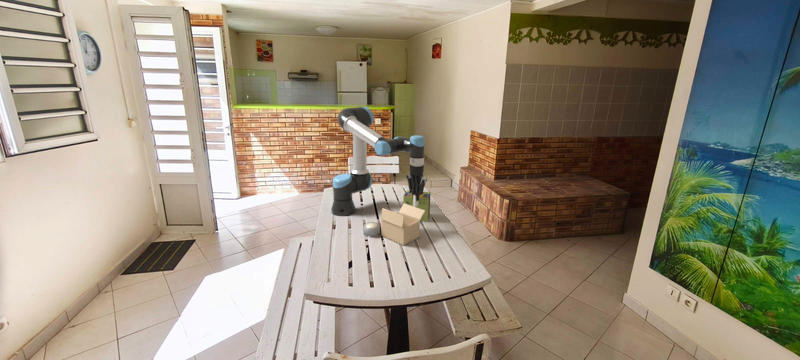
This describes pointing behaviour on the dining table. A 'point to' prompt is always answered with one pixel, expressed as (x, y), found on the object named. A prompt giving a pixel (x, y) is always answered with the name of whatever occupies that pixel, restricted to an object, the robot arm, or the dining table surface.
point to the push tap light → (371, 229)
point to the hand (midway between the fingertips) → (415, 205)
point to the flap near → (392, 217)
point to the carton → (401, 230)
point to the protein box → (419, 203)
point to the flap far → (412, 211)
